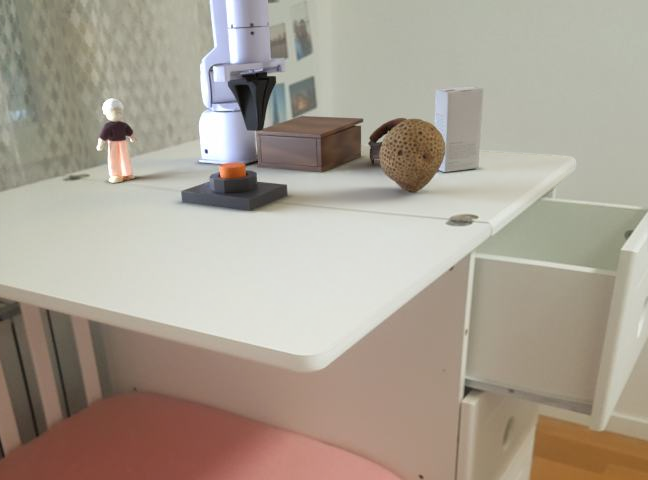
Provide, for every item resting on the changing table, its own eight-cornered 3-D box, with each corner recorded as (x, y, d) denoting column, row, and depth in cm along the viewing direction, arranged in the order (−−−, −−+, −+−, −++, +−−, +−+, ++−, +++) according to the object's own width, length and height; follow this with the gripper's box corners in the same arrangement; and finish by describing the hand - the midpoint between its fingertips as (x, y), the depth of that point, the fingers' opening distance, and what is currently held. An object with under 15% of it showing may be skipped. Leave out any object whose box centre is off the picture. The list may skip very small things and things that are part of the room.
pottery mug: (438, 171, 114) (417, 128, 109) (384, 197, 117) (361, 156, 113) (430, 139, 123) (410, 98, 118) (381, 164, 126) (359, 125, 122)
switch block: (182, 202, 101) (179, 178, 99) (221, 189, 108) (219, 165, 106) (250, 211, 95) (248, 185, 93) (287, 196, 101) (286, 171, 100)
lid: (301, 119, 130) (301, 115, 130) (363, 122, 123) (363, 118, 123) (256, 134, 119) (255, 130, 119) (320, 138, 113) (320, 134, 112)
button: (215, 179, 99) (214, 166, 99) (230, 173, 102) (229, 161, 101) (235, 181, 98) (234, 168, 97) (251, 175, 100) (250, 163, 100)
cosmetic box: (465, 164, 115) (470, 85, 110) (479, 169, 112) (485, 87, 106) (430, 168, 114) (434, 88, 109) (444, 173, 110) (448, 90, 105)
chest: (300, 152, 132) (299, 122, 129) (361, 156, 125) (361, 125, 123) (258, 166, 122) (256, 134, 119) (321, 172, 115) (320, 138, 113)
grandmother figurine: (117, 184, 114) (105, 101, 108) (98, 183, 115) (86, 101, 110) (147, 174, 120) (137, 95, 114) (129, 173, 121) (118, 95, 116)
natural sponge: (434, 202, 95) (437, 124, 90) (370, 198, 98) (370, 123, 94) (448, 186, 102) (452, 114, 98) (388, 183, 105) (389, 113, 101)
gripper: (240, 28, 90) (248, 139, 96) (301, 24, 101) (304, 123, 107) (197, 30, 94) (207, 136, 99) (260, 25, 105) (265, 122, 110)
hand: (254, 130), depth 103 cm, fingers closed
